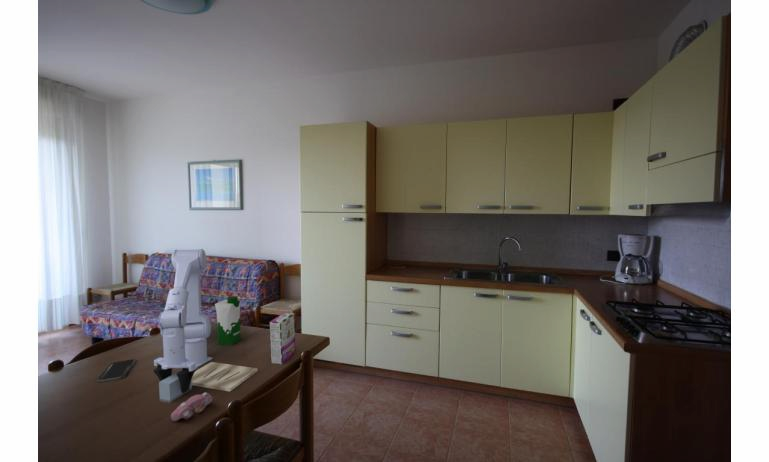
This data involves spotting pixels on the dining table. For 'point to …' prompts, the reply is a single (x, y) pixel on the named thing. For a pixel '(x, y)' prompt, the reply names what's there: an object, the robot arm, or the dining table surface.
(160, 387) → the block
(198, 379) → the marked board
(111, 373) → the phone
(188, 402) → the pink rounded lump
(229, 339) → the milk carton
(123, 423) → the dining table surface
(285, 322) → the candy bar box
